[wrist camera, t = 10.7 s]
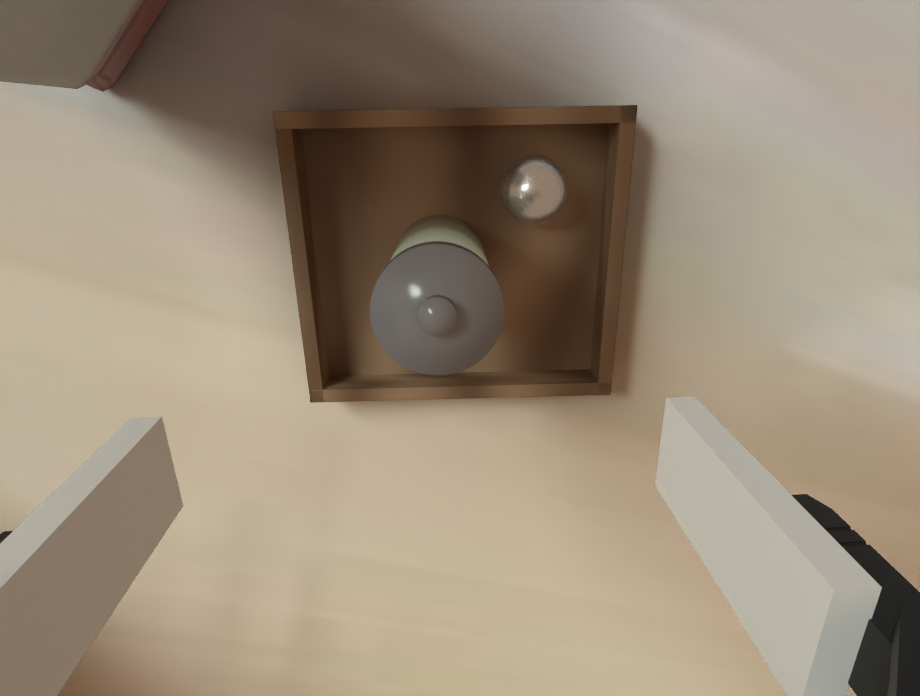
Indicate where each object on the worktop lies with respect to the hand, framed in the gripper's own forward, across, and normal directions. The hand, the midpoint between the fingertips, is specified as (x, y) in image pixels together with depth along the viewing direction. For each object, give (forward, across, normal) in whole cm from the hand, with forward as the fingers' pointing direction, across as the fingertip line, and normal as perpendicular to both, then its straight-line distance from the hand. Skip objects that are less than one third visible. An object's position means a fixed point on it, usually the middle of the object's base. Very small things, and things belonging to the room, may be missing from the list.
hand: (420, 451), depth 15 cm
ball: (+19, +6, +5) cm, 21 cm away
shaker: (+19, +1, +1) cm, 19 cm away
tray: (+20, +2, +1) cm, 20 cm away
